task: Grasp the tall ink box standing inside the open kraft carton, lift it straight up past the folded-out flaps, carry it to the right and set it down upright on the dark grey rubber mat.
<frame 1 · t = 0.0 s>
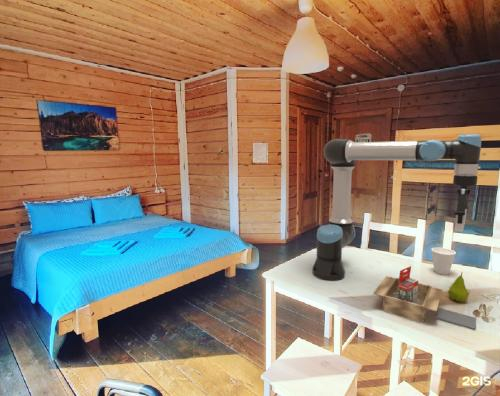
hand: (460, 227, 117), 28 cm above the table, fingers open, 13 cm apart
fruit: (457, 300, 115), on the table
ink box: (407, 305, 112), resting in carton
carton: (407, 305, 112), on the table
cup: (441, 272, 141), on the table
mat: (456, 319, 102), on the table
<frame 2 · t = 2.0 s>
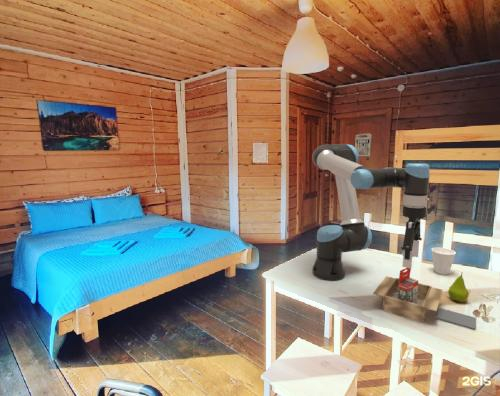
hand: (410, 261, 109), 18 cm above the table, fingers open, 13 cm apart
nothing on the table moved.
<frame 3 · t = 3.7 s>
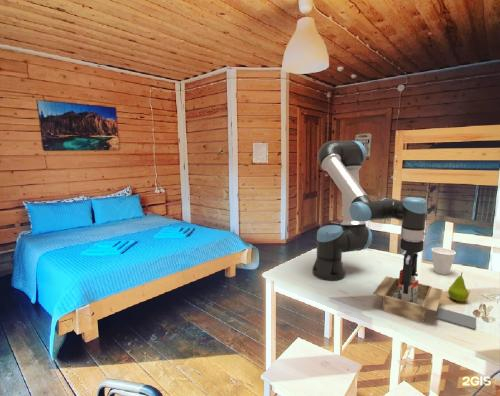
hand: (407, 295, 111), 4 cm above the table, fingers closed on ink box, 8 cm apart
ink box: (407, 305, 112), resting in carton, touching gripper
everything else where it was.
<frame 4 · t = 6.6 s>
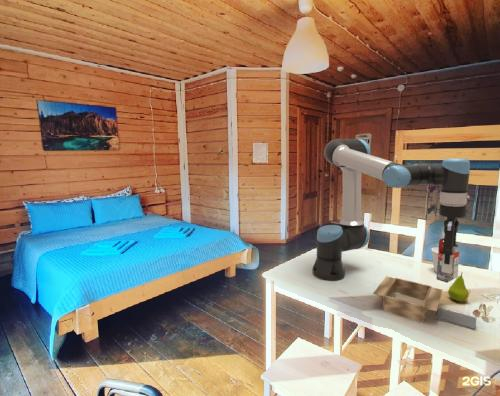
hand: (447, 268, 102), 18 cm above the table, fingers closed on ink box, 8 cm apart
ink box: (446, 279, 102), point 14 cm above the table, touching gripper
everything else where it was.
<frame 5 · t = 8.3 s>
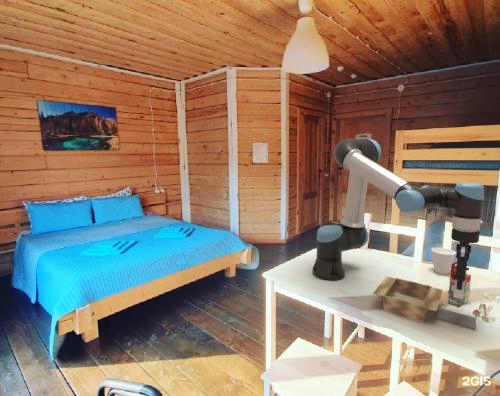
hand: (459, 292, 101), 10 cm above the table, fingers closed on ink box, 8 cm apart
ink box: (458, 303, 101), point 6 cm above the table, touching gripper
everything else where it was.
when the fingers open (5 cm above the table, at t = 9.7 s): ink box stays where it is, resting on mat.
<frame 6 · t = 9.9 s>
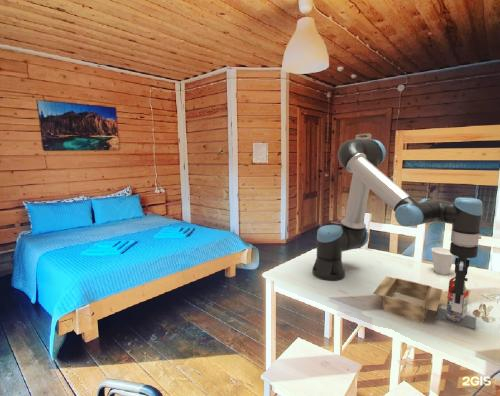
hand: (457, 304, 102), 6 cm above the table, fingers open, 10 cm apart
ink box: (455, 317, 103), resting on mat
everything else where it was.
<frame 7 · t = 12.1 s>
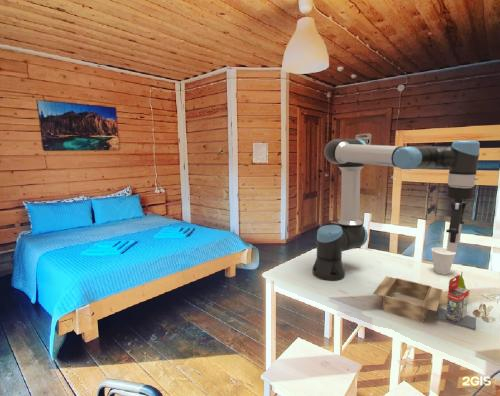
hand: (453, 246, 102), 26 cm above the table, fingers open, 13 cm apart
nothing on the table moved.
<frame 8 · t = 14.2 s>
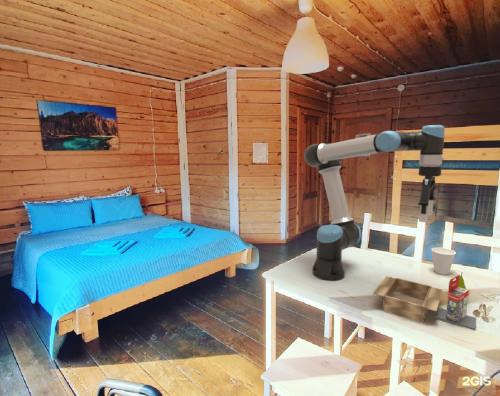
hand: (425, 218, 117), 32 cm above the table, fingers open, 13 cm apart
nothing on the table moved.
at the end: ink box inside the target area (0.1 cm from its centre), resting on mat; ink box tilted 0°; the gripper is holding nothing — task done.
